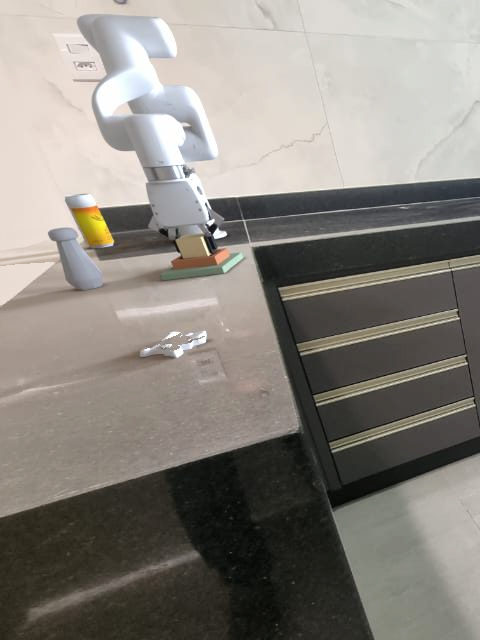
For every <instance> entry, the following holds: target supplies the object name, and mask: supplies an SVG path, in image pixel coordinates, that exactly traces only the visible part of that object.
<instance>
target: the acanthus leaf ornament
mask: <svg viewBox="0 0 480 640" xmlns="http://www.w3.org/2000/svg"><path fill="white" fill-rule="evenodd" d="M179 333H181V331H180V332H179V331H170V332H168V333H167V334H165V336H164V337H163V338H162V339H161V340H162V341H163V340H165V339H168V338H171V337H173V336H176V335H178V334H179ZM184 335H185V336H190V337H192V338H190V339H188V341H190V340H191V339H194V338H200V337H202V336H205V337H203V338H201V339H198V340H193V341H192V342H191V343H188V344H182V345H178V346H180V348H179V349H177V350H174V351H172V350H170V351H168V350H165V351H163V350H162V349H161V348H156V347H159V346H161V345H160V344H158V343H157V344H158V345H157V344H155V345H153V346H152V347H146V348H147V349H144V350H142V349H143V348H141V349H140V350H139V357H140V358H146V357H150V356H154V355H163V356H164V357H171V358H174V359H177V358H179V357H181V356H182V355H183V354H184V351H187V350H191V349H192V348H193V347H196V346H199V345H203V344H205V343H206V342H207V332H206V330H201V331H196V332H194V333H193V332H189V333H186V334H184ZM181 336H183V334H182V335H181ZM181 336H180V337H181ZM171 346H172V344H165V345H162V346H161V347H162V348H163V349H164V348H165V347H167V348H170V347H171Z"/></svg>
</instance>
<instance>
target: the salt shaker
mask: <svg viewBox="0 0 480 640" xmlns="http://www.w3.org/2000/svg"><path fill="white" fill-rule="evenodd" d="M47 235H48V238H49V239H50V241H52V242H56V247H57V250H58V254H59V258H60V262H61V266H62V270H63V273H64V277H65V280H66V282H67V283H68V284H69V285H71V286H72V287H73V288H74V289H75V290H76V291H87V290H93V289H97V288H100V287H102V286H103V279H104V278H103V277H104V275H103V273H102V271H101V270H100V268H99V267H98V266H97V265H96V263H95V262H94V260H92V258H91V257H90V256H89V254H87V252H86V250H84V248H83V247H82V245H81V244H80V243H79V241H78V240H77V239H78V238H79V233H78V231H76V229H75V228H73V227H67V226H66V227H58V228H53V229H50V230H49V231H48V232H47Z"/></svg>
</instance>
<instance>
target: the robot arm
mask: <svg viewBox="0 0 480 640" xmlns="http://www.w3.org/2000/svg"><path fill="white" fill-rule="evenodd" d="M76 25H77V28H78V30H79V32H80V34H81V35H82V37H83V38H84V39H85V41H86V42H87V43H88V44H89V46H91V48H93V49H94V50H95V51H96V52H97V53H98V54H99V57H100V59H101V62H102V65H103V68H104V71H105V74H106V75H105V76H104V77H103V78H102V79H100V81H98V83H97V84H96V86H95V88H94V90H93V92H92V95H91V108H92V112H93V116H94V117H95V121H96V124H97V126H98V130H99V132H100V134H101V136H102V138H103V140H104V142H105V143H107V145H108V146H109V147H110V148H112V149H114V150H116V151H119V152H135V155H136V157H137V159H138V161H139V164H140V166H141V168H142V170H143V173H144V175H145V178H146V180H147V182H145V189H146V194H147V198H148V199H147V200H148V202H149V205H150V209H151V211H152V214H153V215H152V216H151V218H150V221H149V223H148V225H147V227H148V228H149V229H150V230H152V231H155V232H157V233H159V234H161V235H163V236H164V237H166V238H167V239H169V240H170V241H172V242H173V245H174V247H175V249H176V252H177V253H178V254H180V256H182V255H181V252H180V250H179V248H178V245H177V243H176V241H175V240H176V239H178V238H180V237H182V236H184V235H190V234H200V233H204V236H205V237H204V240H205V242H206V245H207V247H208V250H209V252H210V254H213V253H215V252H216V251H217V249H219V247H218V243H217V241H216V240H218V239H222V238H225V237H227V235H228V233H227V231H225V230H220V229H219V227H220V226H221V225H222V224H223V223H224V222H225V218H224V217H223V216H221V215H220V214H218V213H217V212H215V211H214V210H213V209H212V206H211V205H210V203H209V201H208V198H207V195H206V193H205V191H204V188H203V186H202V181H201V180H200V178H199V177H198V175H197V174H196V170H195V168H194V167H190V166H187V164H185V163H192V162H194V163H195V162H205V161H206V162H207V161H212V160H215V159H217V158H218V156H219V149H218V145H217V142H216V139H215V136H214V134H213V131H212V128H211V126H210V123H209V120H208V118H207V117H208V116H207V114H206V112H205V108H204V107H203V103H202V101H201V99H200V98H199V96H198V95H197V93H196V91H194V89H192V88H191V87H189V86H187V85H181V84H162V83H161V82H160V80H159V78H158V75H157V72H156V70H155V67H154V66H153V64H152V63H151V62H150V59H174V58H176V57H177V54H178V48H177V43H176V41H175V40H176V39H175V38H174V35H173V33H172V31H171V29H170V27H169V25H168V24H167V23H166V21H164V20H163V19H162V18H160V17H158V16H147V15H146V16H145V15H128V14H127V15H125V14H109V13H108V14H107V13H89V14H82V15H79V17H77V19H76ZM126 103H127V106H128V107H129V109H130V112H131V113H126V114H125V113H123V114H114V112H115V110H116V109H117V108H118V107H119V108H120V106H122V105H124V104H126ZM182 123H183V124H188V125H187V126H185V125H184V126H183V125H182Z"/></svg>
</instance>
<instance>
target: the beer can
mask: <svg viewBox="0 0 480 640" xmlns="http://www.w3.org/2000/svg"><path fill="white" fill-rule="evenodd" d="M64 202H65V204H66V206H67V208H68V210H69V212H70V214H71V216H72V218H73V221H74V223H75V224H76V226H77V228H78V231H79V232H80V234H81V236H82V239H83V241H84V243H85V245H86V246H87V247H89V248H90V249H102V248H108V247H112V246H114V244H115V240H114V238H113V236H112V234H111V231H110V230H109V228H108V225H107V223H106V221H105V218H104V217H103V215H102V213H101V211H100V208H99V206H98V204H97V202H96V200H95V198H94V197H93V196H92V194H91V193H77V194H69V195H64Z"/></svg>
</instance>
